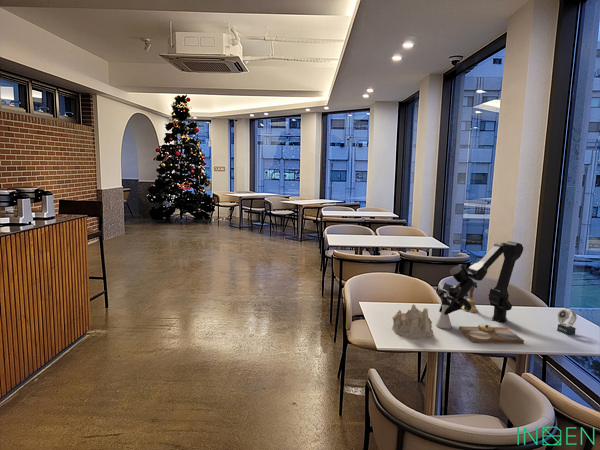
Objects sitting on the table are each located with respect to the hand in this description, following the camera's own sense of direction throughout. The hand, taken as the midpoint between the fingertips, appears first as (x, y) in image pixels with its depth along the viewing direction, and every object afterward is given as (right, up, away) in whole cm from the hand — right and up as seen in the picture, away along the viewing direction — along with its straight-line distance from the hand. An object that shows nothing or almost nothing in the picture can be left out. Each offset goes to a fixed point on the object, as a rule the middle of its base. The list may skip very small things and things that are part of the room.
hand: (442, 313), depth 196 cm
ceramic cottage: (-16, -7, -7) cm, 19 cm away
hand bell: (+24, -4, +27) cm, 37 cm away
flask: (+1, -7, +1) cm, 7 cm away
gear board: (+18, -8, -9) cm, 22 cm away
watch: (+56, -9, -2) cm, 57 cm away
